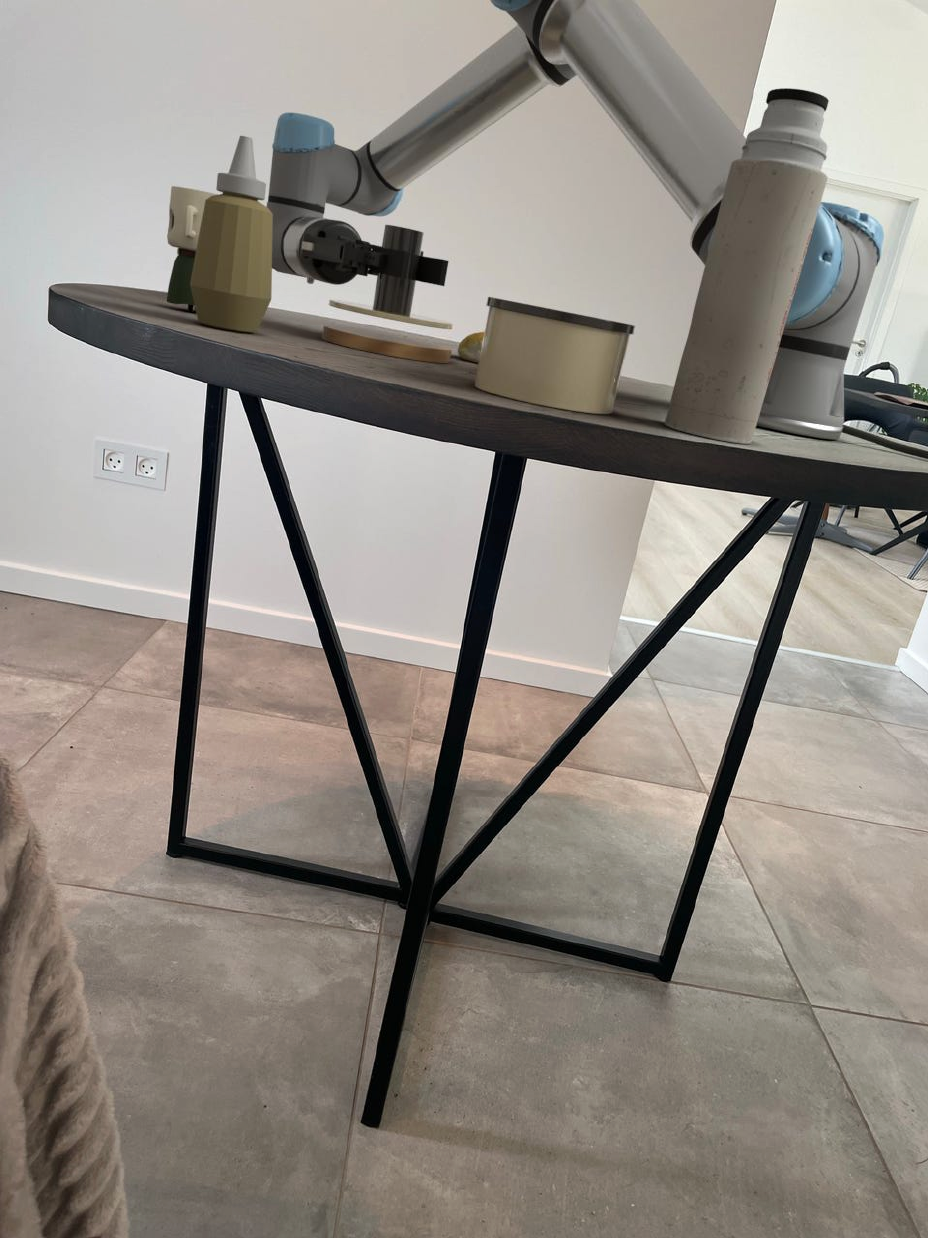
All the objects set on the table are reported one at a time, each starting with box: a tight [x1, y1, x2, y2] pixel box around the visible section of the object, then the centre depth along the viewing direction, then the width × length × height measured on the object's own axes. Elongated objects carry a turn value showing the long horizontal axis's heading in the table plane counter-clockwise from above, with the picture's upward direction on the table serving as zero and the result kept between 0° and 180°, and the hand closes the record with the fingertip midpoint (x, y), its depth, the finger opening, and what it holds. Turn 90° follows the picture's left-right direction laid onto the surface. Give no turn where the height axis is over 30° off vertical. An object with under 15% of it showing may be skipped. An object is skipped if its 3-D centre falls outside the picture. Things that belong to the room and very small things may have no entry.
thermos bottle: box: [664, 87, 830, 445], centre depth 80 cm, size 8×8×28 cm
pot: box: [474, 296, 637, 415], centre depth 86 cm, size 14×14×8 cm
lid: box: [328, 224, 454, 330], centre depth 106 cm, size 14×14×10 cm
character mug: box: [165, 185, 219, 313], centre depth 107 cm, size 11×7×13 cm, turn 178°
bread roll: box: [457, 331, 484, 364], centre depth 119 cm, size 8×9×4 cm
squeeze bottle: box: [190, 135, 273, 334], centre depth 93 cm, size 8×8×18 cm
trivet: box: [321, 324, 452, 364], centre depth 108 cm, size 15×15×2 cm
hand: (424, 268), depth 101 cm, fingers closed on lid, 4 cm apart
